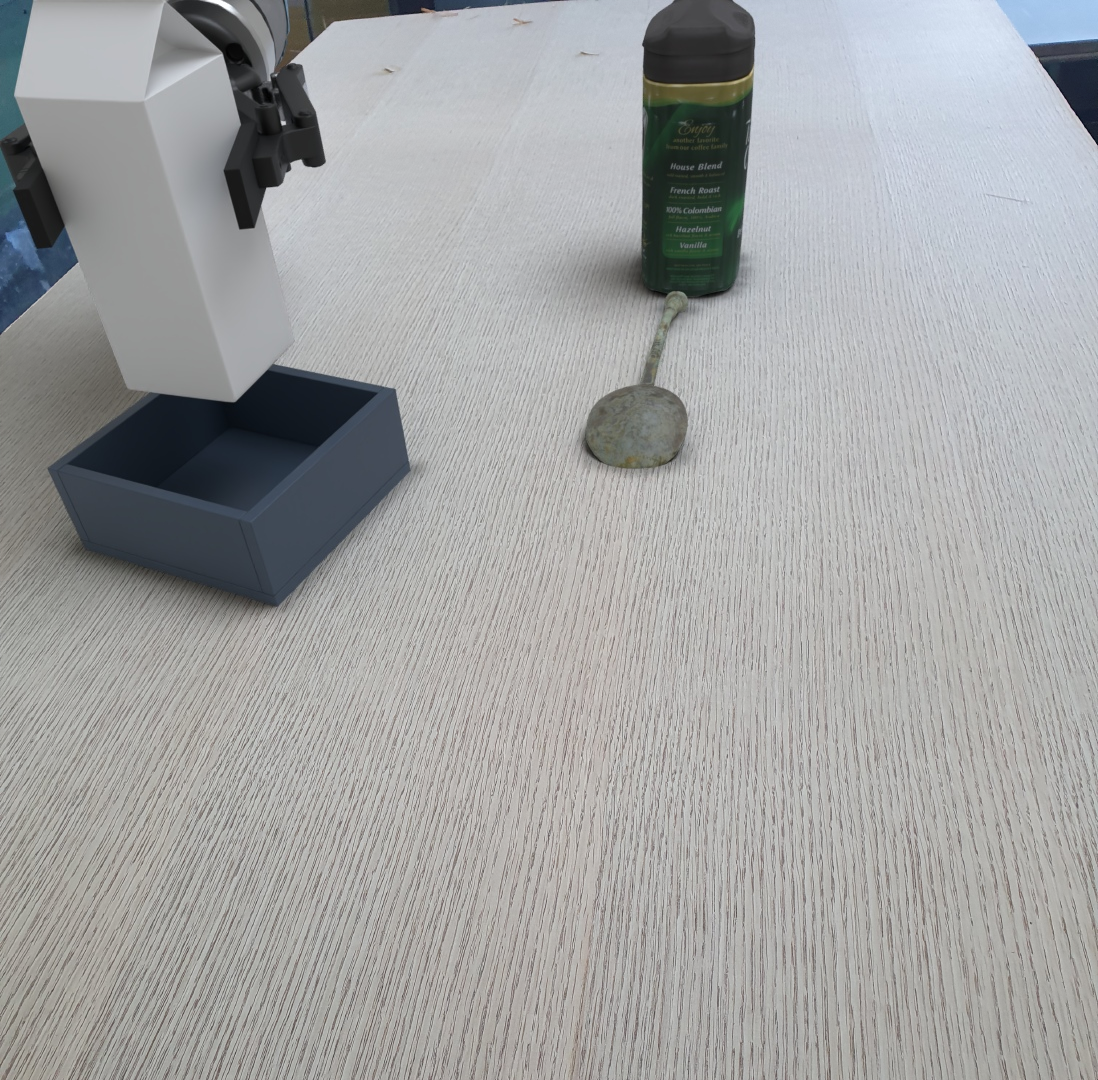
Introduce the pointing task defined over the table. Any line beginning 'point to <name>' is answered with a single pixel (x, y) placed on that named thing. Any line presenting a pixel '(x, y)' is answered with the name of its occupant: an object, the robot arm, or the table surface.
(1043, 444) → the table surface
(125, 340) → the milk carton
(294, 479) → the bin
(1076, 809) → the table surface
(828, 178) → the table surface
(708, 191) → the coffee jar
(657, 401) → the soupspoon
